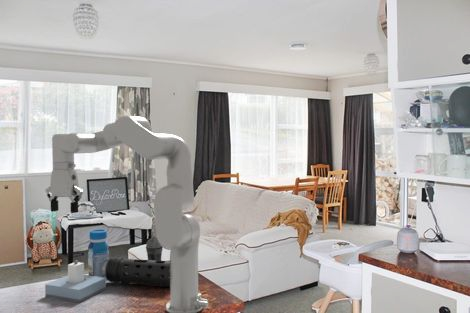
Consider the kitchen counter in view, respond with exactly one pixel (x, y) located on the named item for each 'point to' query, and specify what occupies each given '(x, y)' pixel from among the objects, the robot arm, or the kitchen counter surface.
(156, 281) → the muzzle brake
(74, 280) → the white square peg
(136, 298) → the kitchen counter surface
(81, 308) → the kitchen counter surface
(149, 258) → the beverage cup
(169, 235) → the robot arm
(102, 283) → the socket plate
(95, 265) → the beverage bottle
